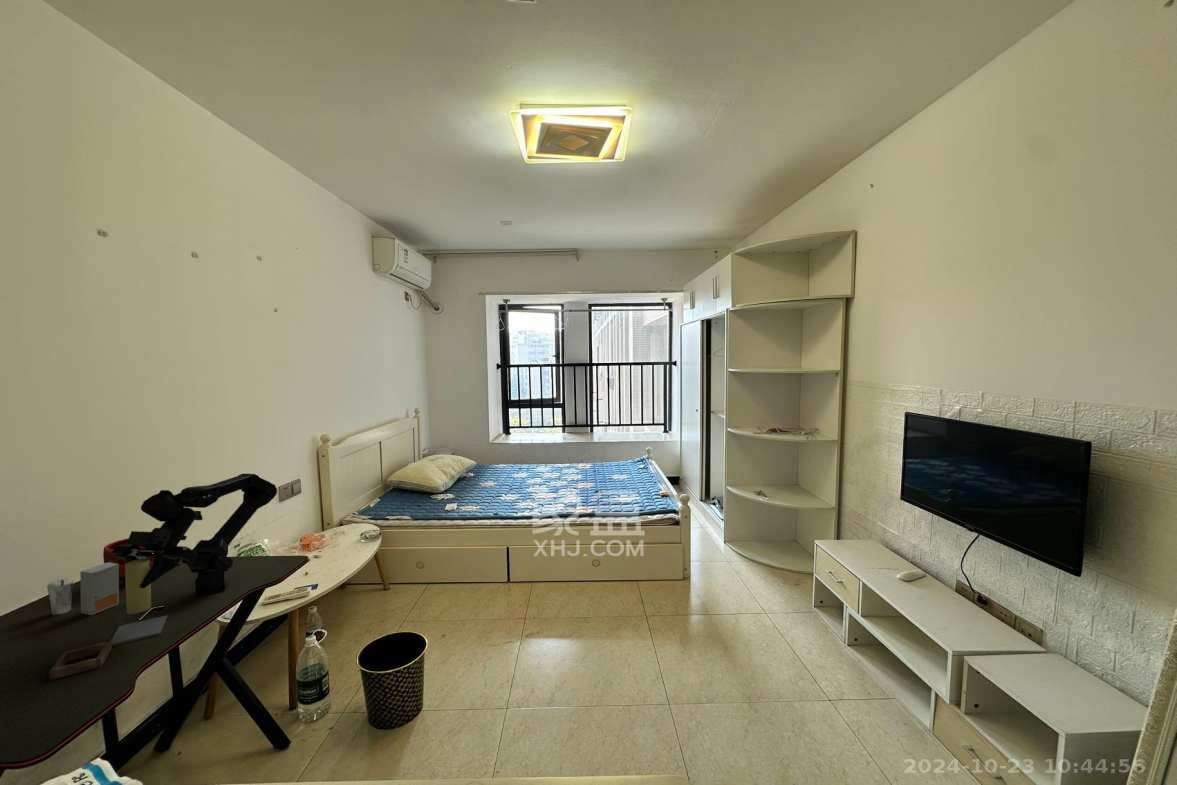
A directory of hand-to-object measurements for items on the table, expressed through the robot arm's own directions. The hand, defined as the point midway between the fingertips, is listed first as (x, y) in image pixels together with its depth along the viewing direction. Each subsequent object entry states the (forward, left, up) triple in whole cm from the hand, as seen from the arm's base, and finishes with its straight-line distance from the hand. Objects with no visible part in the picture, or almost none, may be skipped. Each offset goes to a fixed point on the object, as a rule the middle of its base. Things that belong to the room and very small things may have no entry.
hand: (132, 587), depth 109 cm
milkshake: (+19, -24, -13) cm, 33 cm away
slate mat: (-1, -1, -12) cm, 13 cm away
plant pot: (+8, -40, -13) cm, 42 cm away
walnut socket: (+7, +9, -12) cm, 17 cm away
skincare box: (+11, -21, -13) cm, 27 cm away
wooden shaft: (-1, -1, -7) cm, 7 cm away
